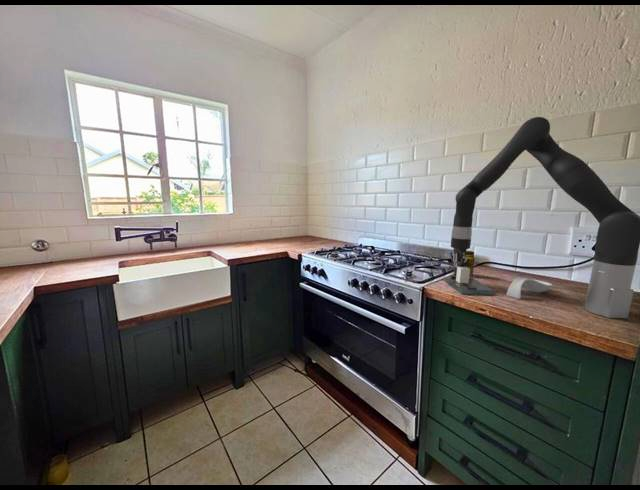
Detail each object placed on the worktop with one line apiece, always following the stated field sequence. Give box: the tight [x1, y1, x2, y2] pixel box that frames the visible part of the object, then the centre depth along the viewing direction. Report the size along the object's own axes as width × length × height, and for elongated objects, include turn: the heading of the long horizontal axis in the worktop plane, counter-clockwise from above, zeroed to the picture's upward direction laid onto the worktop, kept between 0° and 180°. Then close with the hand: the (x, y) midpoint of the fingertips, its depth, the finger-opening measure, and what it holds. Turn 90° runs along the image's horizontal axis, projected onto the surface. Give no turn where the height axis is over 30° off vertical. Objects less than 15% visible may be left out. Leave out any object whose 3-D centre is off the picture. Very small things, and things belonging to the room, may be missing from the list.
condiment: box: [465, 250, 476, 279], centre depth 131 cm, size 7×8×12 cm
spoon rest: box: [506, 276, 554, 300], centre depth 108 cm, size 24×12×7 cm, turn 123°
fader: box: [456, 267, 470, 283], centre depth 113 cm, size 3×4×6 cm
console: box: [444, 275, 495, 296], centre depth 113 cm, size 16×12×3 cm
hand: (457, 276), depth 118 cm, fingers closed
